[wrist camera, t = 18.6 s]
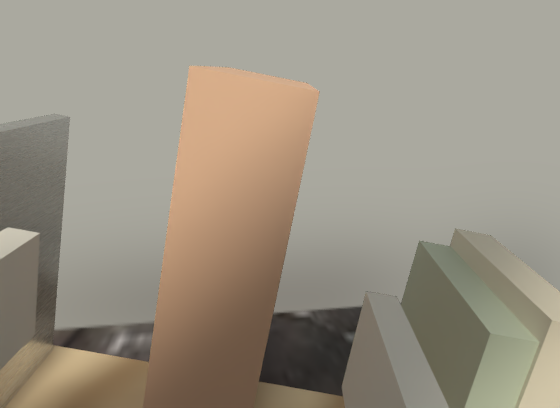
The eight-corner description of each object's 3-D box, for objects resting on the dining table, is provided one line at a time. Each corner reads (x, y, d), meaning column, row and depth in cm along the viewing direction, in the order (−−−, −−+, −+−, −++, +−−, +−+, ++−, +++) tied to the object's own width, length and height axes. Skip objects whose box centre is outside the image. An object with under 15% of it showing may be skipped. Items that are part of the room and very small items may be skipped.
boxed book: (246, 384, 29) (306, 83, 24) (225, 541, 19) (319, 91, 15) (180, 373, 29) (228, 67, 24) (126, 524, 19) (189, 65, 15)
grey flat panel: (52, 350, 29) (69, 116, 25) (-67, 492, 19) (-67, 146, 15) (39, 348, 29) (54, 113, 25) (-87, 488, 19) (-93, 141, 15)
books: (430, 417, 30) (490, 235, 26) (499, 585, 20) (607, 330, 17) (370, 406, 29) (423, 222, 26) (410, 570, 20) (501, 311, 17)
